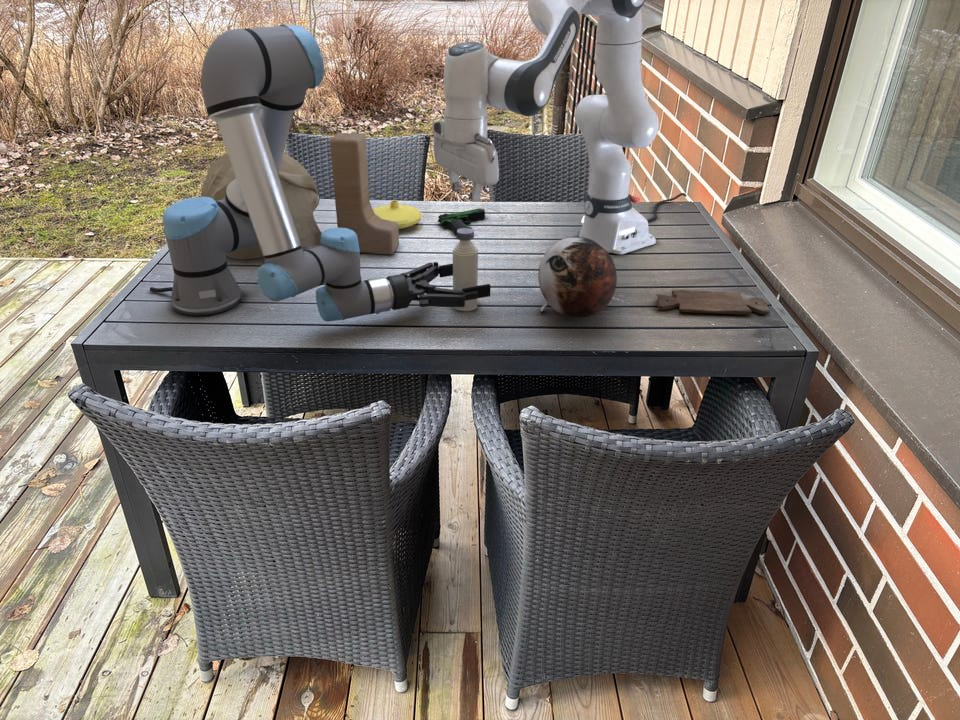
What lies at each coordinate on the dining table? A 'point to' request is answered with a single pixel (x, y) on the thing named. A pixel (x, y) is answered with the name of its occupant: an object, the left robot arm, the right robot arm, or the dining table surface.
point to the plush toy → (577, 277)
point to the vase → (399, 214)
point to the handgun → (460, 219)
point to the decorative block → (358, 196)
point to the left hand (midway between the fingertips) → (477, 278)
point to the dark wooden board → (711, 302)
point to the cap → (465, 234)
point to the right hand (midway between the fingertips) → (465, 195)
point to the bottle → (465, 270)
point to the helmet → (296, 191)
